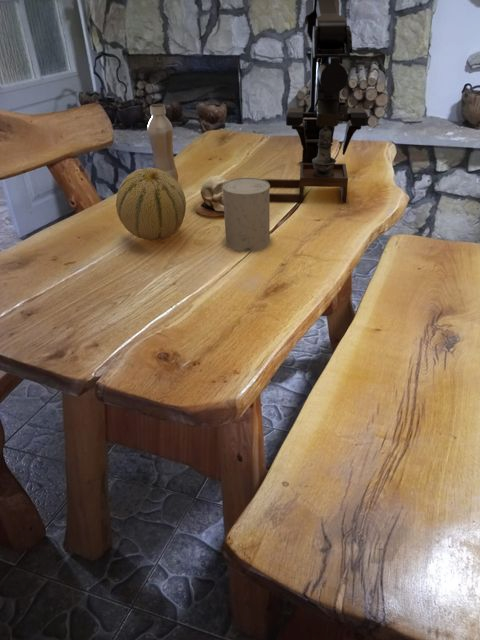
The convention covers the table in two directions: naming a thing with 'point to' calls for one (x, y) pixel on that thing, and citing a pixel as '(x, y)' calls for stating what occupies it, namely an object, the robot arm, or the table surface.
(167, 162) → the plastic bottle
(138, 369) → the table surface
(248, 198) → the grey stone cylinder
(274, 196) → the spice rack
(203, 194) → the skull
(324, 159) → the grey rounded piece
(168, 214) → the cantaloupe
